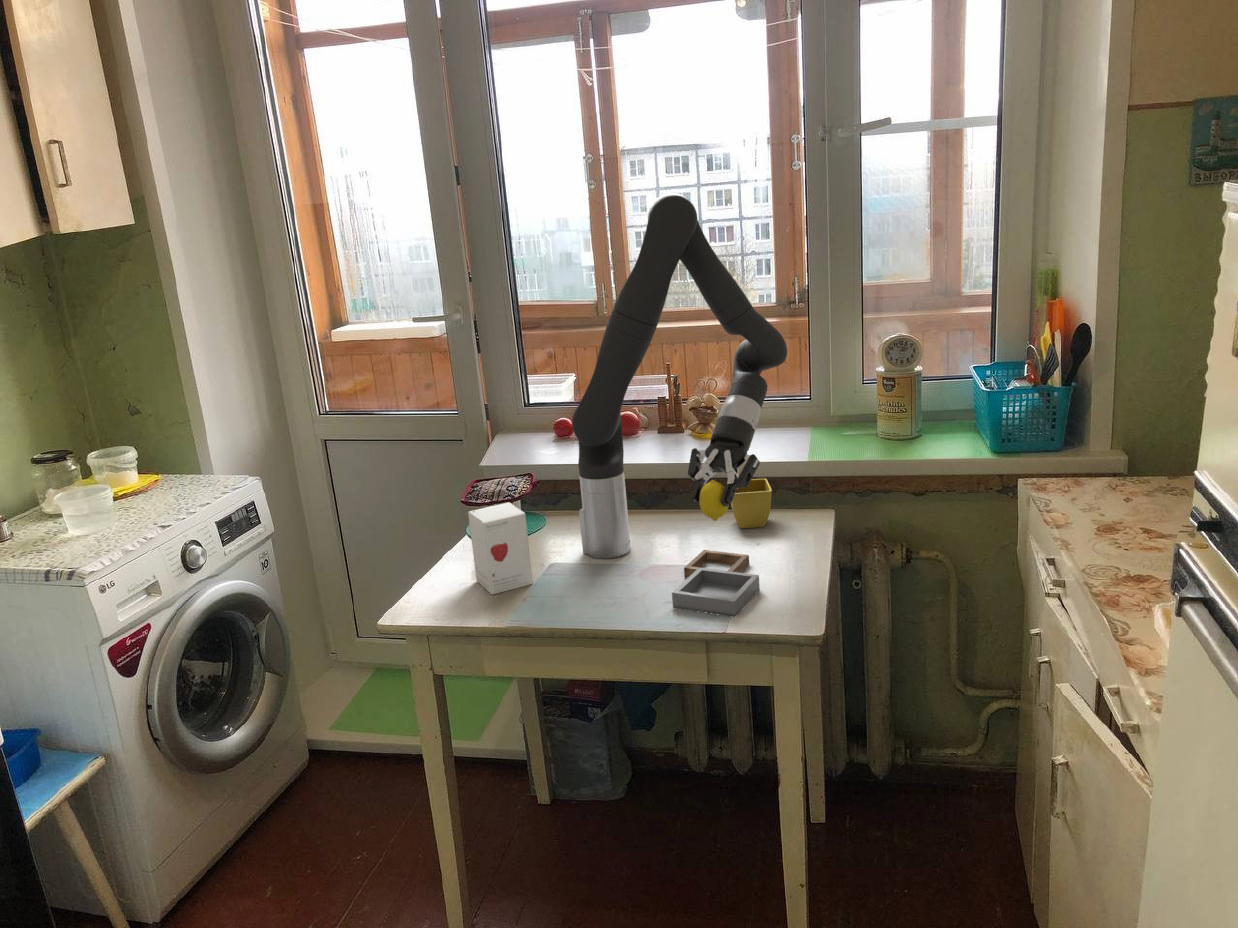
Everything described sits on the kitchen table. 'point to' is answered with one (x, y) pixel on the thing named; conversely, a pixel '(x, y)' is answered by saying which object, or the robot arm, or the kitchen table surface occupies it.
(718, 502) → the lemon
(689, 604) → the charcoal tray
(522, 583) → the supplement box
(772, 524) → the kitchen table surface
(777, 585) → the kitchen table surface
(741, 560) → the wooden square frame
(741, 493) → the flower pot
